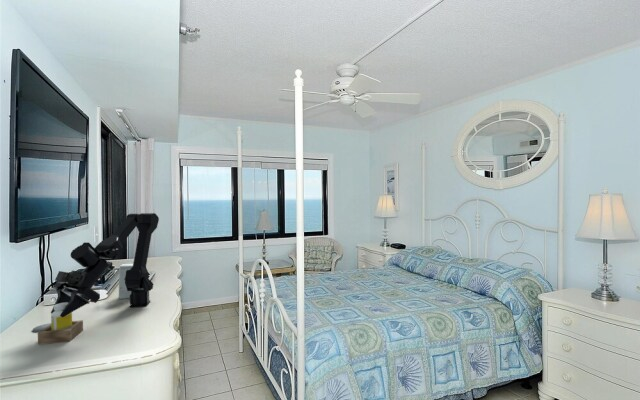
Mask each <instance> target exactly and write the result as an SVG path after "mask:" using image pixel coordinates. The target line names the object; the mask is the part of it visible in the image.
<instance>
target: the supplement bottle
mask: <svg viewBox="0 0 640 400" xmlns="http://www.w3.org/2000/svg"><path fill="white" fill-rule="evenodd" d="M67 304H68V303H67V302H65V303H59V304H56V305H55V304H54V305H53V307H54V310H55V311H54V312H53V313H52V314H51V313H50V319H51V320H50V321H51V330H52V331H53V330H64V329H68V328H70V327H71V326H72V321H73V312H71V313H70V314H68V315H66V316H65V317H61V316H60V315H61V313H62V311H63V310H64V308H65V307H66V306H67Z"/></svg>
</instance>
